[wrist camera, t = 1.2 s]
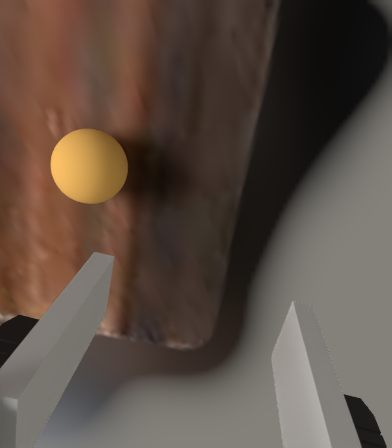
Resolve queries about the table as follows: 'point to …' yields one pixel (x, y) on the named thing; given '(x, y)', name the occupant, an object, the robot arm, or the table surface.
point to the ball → (89, 166)
